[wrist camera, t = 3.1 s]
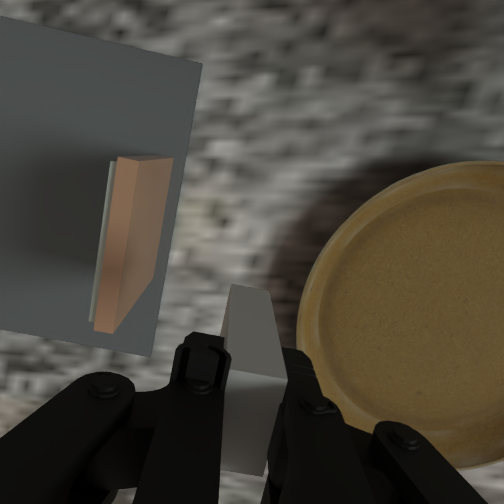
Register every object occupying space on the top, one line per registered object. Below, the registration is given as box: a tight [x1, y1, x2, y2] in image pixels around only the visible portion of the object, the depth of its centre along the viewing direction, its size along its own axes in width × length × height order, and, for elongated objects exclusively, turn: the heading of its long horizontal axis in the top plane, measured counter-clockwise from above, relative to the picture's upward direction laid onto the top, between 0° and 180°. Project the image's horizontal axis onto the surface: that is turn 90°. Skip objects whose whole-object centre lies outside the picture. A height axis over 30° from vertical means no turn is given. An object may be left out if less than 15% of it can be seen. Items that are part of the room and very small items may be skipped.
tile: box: [89, 155, 174, 334], centre depth 26 cm, size 9×1×10 cm, turn 168°
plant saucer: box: [296, 160, 504, 471], centre depth 32 cm, size 24×24×3 cm
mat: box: [0, 16, 202, 357], centre depth 30 cm, size 22×14×1 cm, turn 168°
